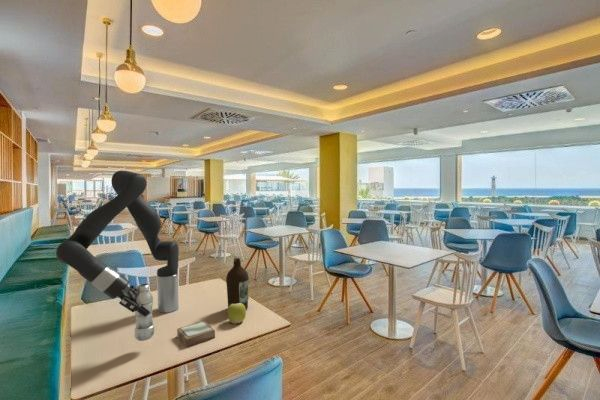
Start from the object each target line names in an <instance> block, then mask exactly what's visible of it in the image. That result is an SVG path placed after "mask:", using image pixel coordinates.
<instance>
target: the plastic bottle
mask: <svg viewBox="0 0 600 400" xmlns="http://www.w3.org/2000/svg"><path fill="white" fill-rule="evenodd" d="M149 287H150V286H149V283H140V284H138V285H137V287H136V288H137V292H138V293H137V294H136V296H135V297H136V298H137V299H138V302H139V303H140V304H141V305H142V306H143V307H145V308H146V309H148V310H149V311H150V312H149V314H148V315H147V316H146V317H145V316H143V315H142V314H140V313H139V312H138V311H135V312H134V313H135V328H134V336H135V337H134V338H135V339H136V340H137V341H139V342H143V341H147V340H150V339H151V338H153V337H154V335H155V331H156V330H155V325H154V319H153V305H154V296H153V294H152V293H151V292H150V291H149V290H150V288H149ZM134 307H135V306H134Z"/></svg>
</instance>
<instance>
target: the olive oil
mask: <svg viewBox="0 0 600 400" xmlns="http://www.w3.org/2000/svg"><path fill="white" fill-rule="evenodd" d="M241 264H242V261H241V257H239V256H238V257H234V258H233V266H232V267H231V269H229V271H228V272H227V274H226V278H225V280H226V283H225V284H226V296H227V308H228V307H229V306H230V305H231V304H235V303H236V304H237V303H242V304H243V305H244V306H245V308H246V311H247V310H248V309H249V303H248V302H249V279H250V278H249V274H248V271H247V270H246V269H245V268H244V267H243V266H242V265H241ZM234 301H235V302H234ZM247 308H248V309H247Z"/></svg>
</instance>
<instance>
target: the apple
mask: <svg viewBox="0 0 600 400" xmlns="http://www.w3.org/2000/svg"><path fill="white" fill-rule="evenodd" d="M234 302H235V301H234ZM226 313H227V318H228V320H229V322H230V323H232V324H235V325H236V324H237V323H238V324H240V323H242V322H243V321H244V320H245V319H246V315H247V314H246V313H247V310H246V308H245V306H244V305H243V304H242V303H237V304H236V303H235V304H231V305H230V306H229V307H228V306H227V311H226Z"/></svg>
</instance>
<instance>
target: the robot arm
mask: <svg viewBox="0 0 600 400" xmlns="http://www.w3.org/2000/svg"><path fill="white" fill-rule="evenodd" d="M147 186H148V185H147V179H146V177H145V176H144V175H143V174H140V173H136V172H133V171H129V170H117V171H115V172H114V173H113V175H112V177H111V187H112V189H113V190H114V192H115V193H116V196H115V197H114V198H112V199H111V200H109V201H107V202H105V203H104V204H102V205H101V206H99V207H97V208H95V209H94V210H93V211H91V212H89V213H88V215H87V216H85V218H84V219H83V220H82V221H81V222H80V223H79V224H78V225H77V227H76V228H75V230H74V232H73V233H72V234H71V235H70V236H69V237H68V238H67V240H66V241H63V242H61V243H60V244H59V245H58V246H57V248H56V254H55V255H56V259H57V260H58V261H59V262H60V263H62V264H65V265H68V266H69V267H71V268H72V269H74V270H75V271H77V272H78V273H79V275H80V276H81V277H82V278H84V279H85V280H86V281H88V282H89V283H91V284H92V285H93V286H94V287H95V288H96V289H97V290H99V291H100V292H102V293H103V294H105V295H106V297H108V298H110V299H112V300H114V299H116V298H119V299H120V301H119V302H118V303H119V305H121V306H122V307H124V308H125V309H127V310H128V311H129V312H132V313H135V311H138V312H139V313H140V314H142V315H143V316H145V317H146V316H147V315H148V314H149V312H150V311H149V310H148V309H146V308H145V307H143V306H142V305H141V304H140V303H139V302H138V299H137V298H136V297H135V296H136V294H137V293H138V292H137V287H136V286H134V285H133V284H131V286H128V285H129V284H130V280H129V279H127V278H126V277H124V275H121V274H120V272H118V271H116V270H115V269H113V268H111V267H109V266H108V265H107V264H105V263H104V262H103V261H101V260H100V259H99V258H97V257H96V256H94V255H93V254H92V253H91V251H90V250H88V248H89V247H90V245H91V244H92V243H93V242H94V241H95V240H96V239H97V238H98V237H99V236H100V235H101V234H102V232H103V231H104V230H105V229H106V227H108V225H109V224H111V222H112V221H113V220H114V219H115V218H116V217H117V216H118V215H119V214H120V213H121V212H123V211H125V209H126V208H127V210H128V212H129V213H130V214H129V215H131V217H132V219H133V221H134V223H135V224H136V226H137V228H138V230H139V231H140V232H141V234H142V236H143V237H144V239H145V241H146V243H147V245H148V248H149V250H150V253H151V255H152V257H153V259H154V260H156V261H160V262H161V261H163V262H165V261H166V265H164V266H162V267H160V268H158V269H157V270H156V280H157V281H156V282H157V283H156V284H157V285H156V286H157V312H159V313H163V314H166V313H167V314H168V313H172V312H175V311H177V310H178V309H180V308H179V277H178V275H179V274H178V271H179V245H178V243H177V242H176V241H174V240H173V241H172V240H171V241H168V240H167V241H166V240H165V241H162V240H160V237H159V233H160V231H161V228H162V221H161V219H160V216H159V214H158V213H157V210H156V209H155V208H154V207H153V206H152V205H151V204H150V203H149V202H148V201H147V200H146V199H144V197H142V195H143V193H144V192H145V190H146V187H147ZM134 306H135V307H134Z"/></svg>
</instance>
